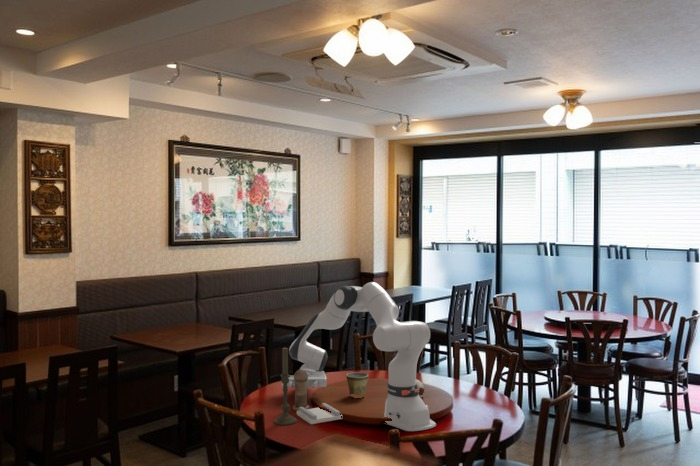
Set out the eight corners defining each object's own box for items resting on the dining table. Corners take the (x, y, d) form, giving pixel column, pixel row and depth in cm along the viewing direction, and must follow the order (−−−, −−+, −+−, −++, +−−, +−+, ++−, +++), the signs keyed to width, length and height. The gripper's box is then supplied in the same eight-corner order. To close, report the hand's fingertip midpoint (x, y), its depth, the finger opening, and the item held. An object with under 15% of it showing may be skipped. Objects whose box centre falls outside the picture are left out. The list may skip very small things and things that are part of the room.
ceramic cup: (368, 399, 271) (368, 377, 271) (346, 399, 271) (346, 377, 271) (368, 391, 284) (368, 370, 284) (346, 391, 284) (346, 370, 284)
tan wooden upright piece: (311, 409, 257) (311, 370, 257) (296, 411, 254) (296, 372, 254) (305, 405, 263) (304, 367, 263) (290, 407, 260) (290, 369, 260)
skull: (394, 392, 279) (407, 374, 282) (409, 405, 282) (422, 387, 285) (407, 397, 268) (420, 379, 271) (422, 411, 271) (435, 392, 274)
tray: (342, 418, 244) (342, 411, 244) (310, 424, 238) (310, 416, 238) (327, 409, 257) (327, 402, 257) (296, 414, 250) (296, 407, 250)
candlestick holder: (297, 417, 246) (297, 344, 246) (296, 425, 237) (295, 348, 236) (275, 418, 246) (274, 344, 245) (272, 425, 236) (272, 348, 236)
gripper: (283, 371, 278) (278, 378, 264) (327, 371, 277) (325, 378, 263) (283, 384, 278) (278, 393, 264) (327, 384, 277) (325, 393, 263)
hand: (302, 385), depth 264 cm, fingers open, 8 cm apart
